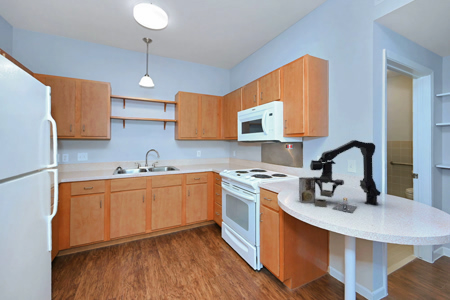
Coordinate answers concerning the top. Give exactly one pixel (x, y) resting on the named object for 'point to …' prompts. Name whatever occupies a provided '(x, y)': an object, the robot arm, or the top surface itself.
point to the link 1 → (320, 203)
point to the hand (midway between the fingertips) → (327, 193)
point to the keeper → (345, 207)
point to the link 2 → (326, 193)
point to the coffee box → (306, 189)
